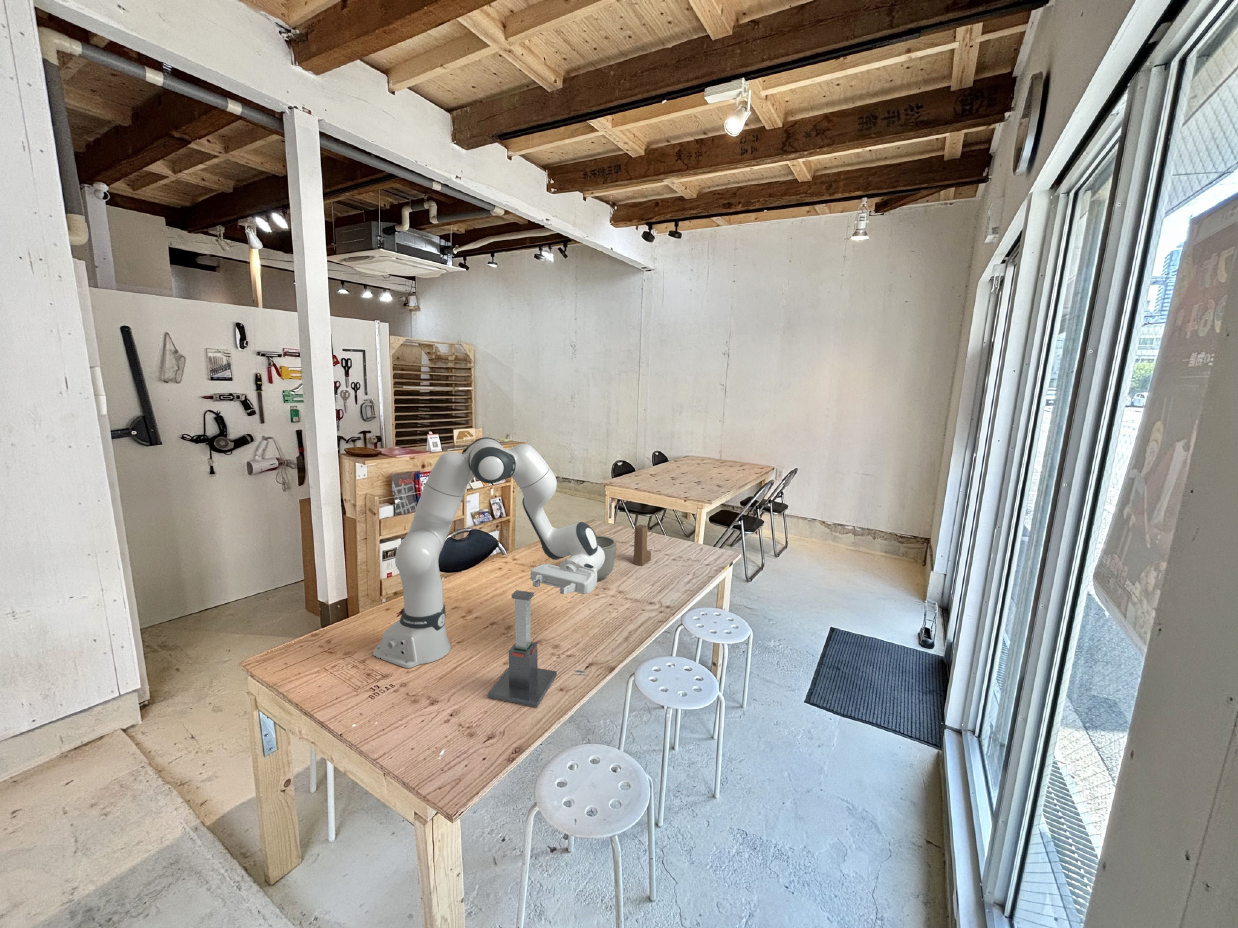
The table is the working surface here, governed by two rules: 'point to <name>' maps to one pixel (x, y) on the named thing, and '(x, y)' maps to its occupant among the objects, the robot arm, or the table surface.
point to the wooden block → (641, 546)
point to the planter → (606, 556)
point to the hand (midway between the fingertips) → (548, 587)
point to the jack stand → (523, 679)
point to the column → (522, 619)
